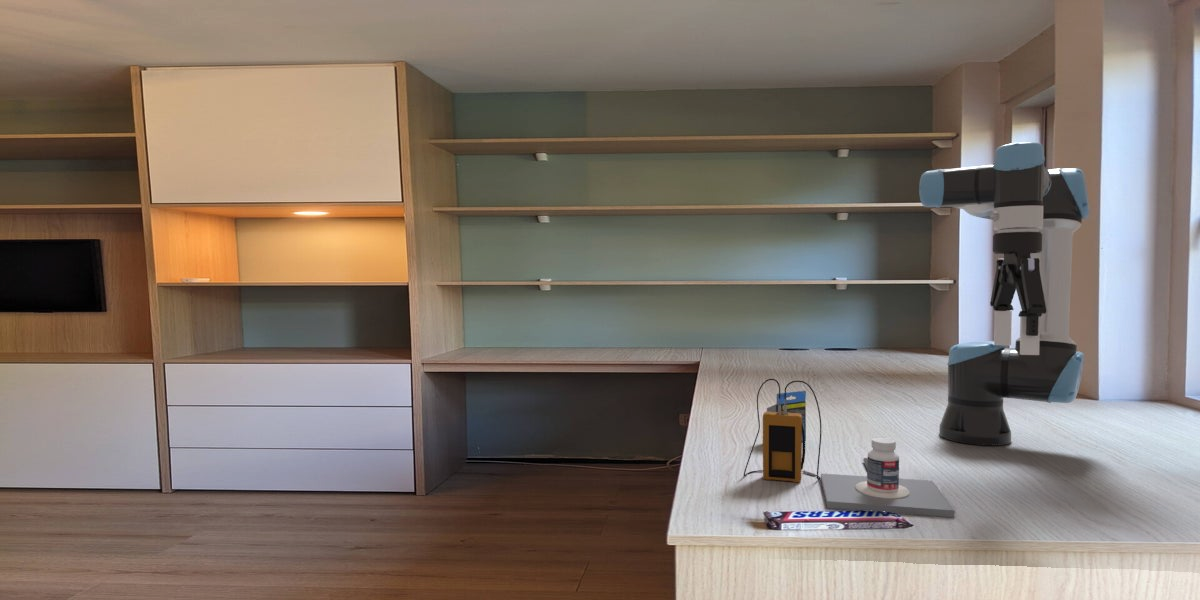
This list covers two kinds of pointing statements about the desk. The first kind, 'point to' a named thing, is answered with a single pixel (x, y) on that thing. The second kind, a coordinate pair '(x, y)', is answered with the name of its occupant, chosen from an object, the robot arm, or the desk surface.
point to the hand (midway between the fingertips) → (1015, 349)
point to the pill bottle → (883, 466)
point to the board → (885, 496)
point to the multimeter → (783, 443)
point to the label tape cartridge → (792, 405)
